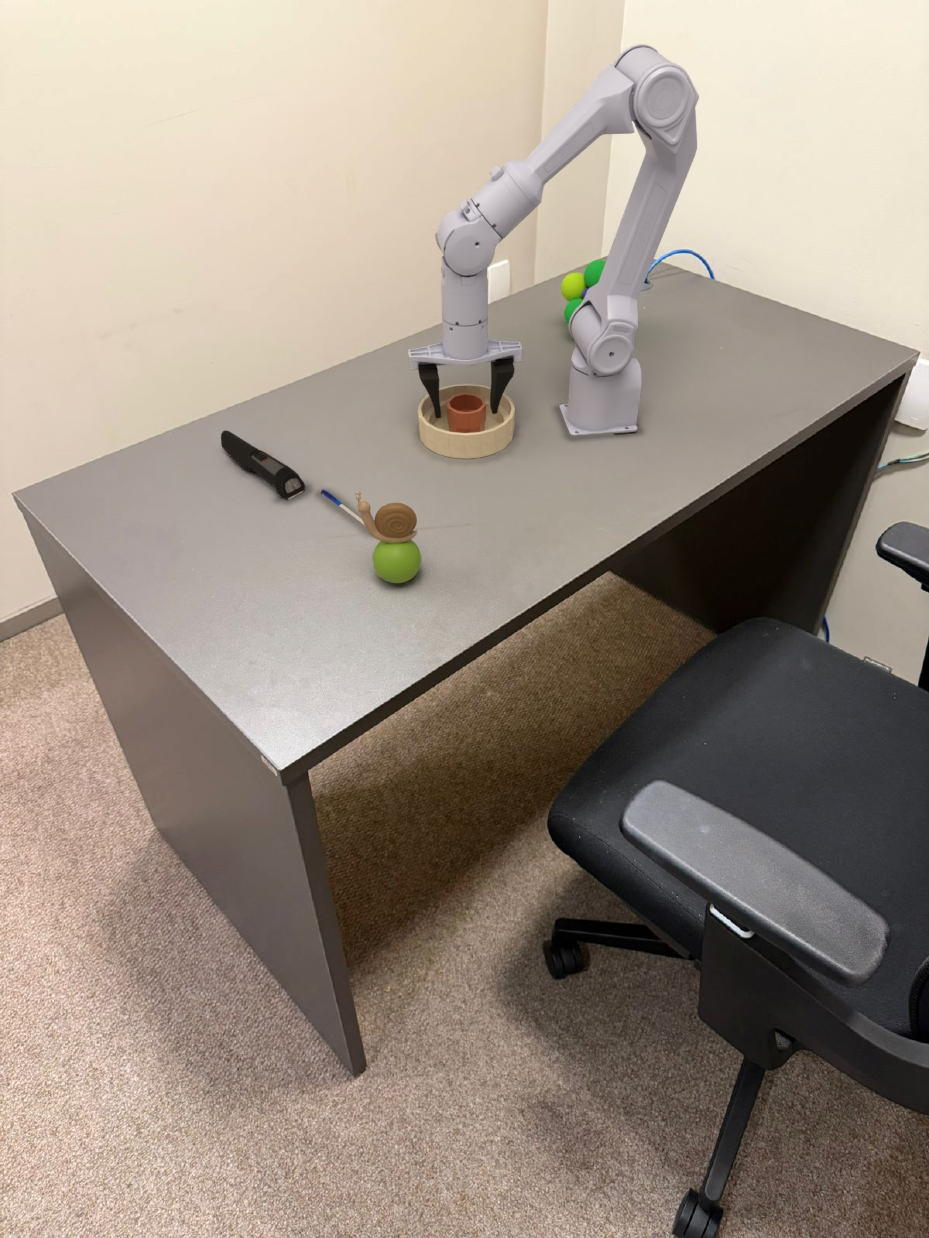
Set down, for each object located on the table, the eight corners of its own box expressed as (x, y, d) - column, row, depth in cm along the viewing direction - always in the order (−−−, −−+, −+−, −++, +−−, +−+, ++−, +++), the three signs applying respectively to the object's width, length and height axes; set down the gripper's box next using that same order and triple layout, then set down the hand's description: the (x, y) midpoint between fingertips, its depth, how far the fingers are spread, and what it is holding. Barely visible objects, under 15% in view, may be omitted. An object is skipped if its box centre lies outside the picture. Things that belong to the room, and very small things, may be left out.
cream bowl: (505, 406, 124) (505, 380, 121) (521, 457, 115) (522, 430, 112) (415, 414, 123) (414, 387, 120) (424, 465, 114) (422, 438, 111)
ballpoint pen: (318, 496, 110) (317, 489, 109) (324, 493, 110) (323, 486, 109) (370, 533, 104) (369, 527, 103) (376, 530, 105) (375, 523, 104)
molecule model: (584, 295, 142) (553, 276, 135) (631, 271, 136) (601, 250, 130) (591, 344, 140) (560, 327, 134) (638, 322, 135) (608, 303, 128)
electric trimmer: (240, 443, 119) (235, 423, 116) (308, 489, 110) (304, 469, 108) (217, 454, 117) (211, 434, 115) (284, 502, 109) (279, 481, 106)
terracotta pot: (482, 420, 121) (482, 391, 118) (488, 441, 117) (488, 412, 114) (445, 423, 120) (444, 394, 117) (450, 444, 117) (449, 415, 113)
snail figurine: (366, 563, 100) (355, 478, 92) (421, 560, 100) (415, 474, 92) (366, 595, 96) (355, 509, 88) (423, 591, 97) (417, 505, 88)
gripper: (516, 298, 110) (513, 393, 120) (404, 305, 109) (409, 400, 119) (526, 323, 105) (522, 420, 115) (408, 331, 104) (414, 428, 114)
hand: (465, 412), depth 116 cm, fingers open, 7 cm apart
